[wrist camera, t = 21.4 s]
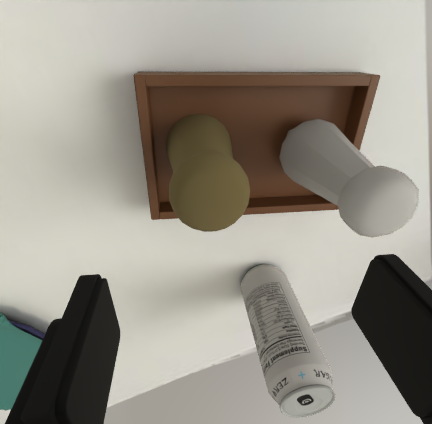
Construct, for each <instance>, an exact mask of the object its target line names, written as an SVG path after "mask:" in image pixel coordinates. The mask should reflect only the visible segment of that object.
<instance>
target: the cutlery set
mask: <svg viewBox="0 0 432 424" xmlns="http://www.w3.org/2000/svg"><path fill="white" fill-rule="evenodd" d="M44 336H45V334H44V333H42V332H40V331H38V330H36V329H34V328H32V327H30V326H28V325H24V324H21V323H17V322H13V321H9V320H7V319H6V317H5V316H4V315H3V314H2V313H0V410H1V409H3V410H5V411H6V410H9V409H12V407H13V405H14V402H15V400H16V398H17V396H18V394H19V391H20V389H21V387H22V385H23V383H24V380H25V378H26V376H27V374H28V371H29V369H30V367H31V365H32V363H33V360H34V358H35V356H36V354H37V352H38V349H39V347H40V345H41V343H42V340H43V338H44Z"/></svg>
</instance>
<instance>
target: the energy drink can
mask: <svg viewBox="0 0 432 424" xmlns="http://www.w3.org/2000/svg"><path fill="white" fill-rule="evenodd" d="M241 291H242V295H243V299H244V303H245V306H246V310H247V314H248V318H249V321H250V325H251V329H252V333H253V336H254V340H255V344H256V347H257V351H258V355H259V358H260V362H261V366H262V369H263V373H264V377H265V381H266V385H267V388H268V392H269V394H270V395H271V396H272V398H273V399H274V400H275V401H276V402H277V403H278V404H279V405H280V410H281V412H282V413H283V414H284V415H286V416H288V417H306V416H310V415H314V414H316V413H319V412H321V411H323V410H324V409H326V408H327V407H329V406H330V405H331V404H332V403H333V401H334V398H335V394H334V392H333V390H332V371H331V369H330V367H329V365H328V363H327V361H326V358H325V356H324V354H323V352H322V350H321V348H320V346H319V344H318V342H317V340H316V338H315V336H314V333H313V331H312V329H311V327H310V325H309V323H308V321H307V319H306V317H305V315H304V313H303V310H302V308H301V306H300V304H299V302H298V300H297V298H296V296H295V294H294V292H293V290H292V288H291V285H290V283H289V281H288V279H287V277H286V275H285V273H284V272H283V271H282V270H281V269H279V268H277V267H274V266H272V265H268V264H263V265H258V266H255V267H253V268H252V269H250V270H249V271H248V272H247V273H246V274H245V276H244V278H243V280H242V282H241Z"/></svg>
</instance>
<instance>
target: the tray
mask: <svg viewBox="0 0 432 424" xmlns="http://www.w3.org/2000/svg"><path fill="white" fill-rule="evenodd" d="M379 79H380V75H374V74H367V73H343V72H137V73H136V74H134V83H135V91H136V99H137V107H138V115H139V123H140V131H141V139H142V147H143V155H144V163H145V171H146V179H147V187H148V195H149V203H150V211H151V219H152V220H155V219H175V218H178V217H177V216H176V214H175V213H174V211H173V208H172V206H171V203H170V201H169V183H170V181H171V178H172V175H173V170H172V167H171V164H170V161H169V158H168V155H167V151H166V141H167V138H168V135H169V132H170V130H171V129H172V127H173V126H174V125H175V123H177V122H178V121H179V120H181V119H182V118H184V117H186V116H190V115H193V114H206V115H209V116H211V117H214V118H216V119H217V120H218V121H220V122H221V123H222V124H223V125H224V126H225V128H226V130H227V131H228V133H229V136H230V140H231V145H232V153H233V159H234V160H235V161H236V162H238V163H239V164H240V166H241V167H242V169H243V170H244V172H245V174H246V175H247V177H248V181H249V186H250V197H249V204H248V206H247V208H246V210H245V212H244V214H243V215H247V214H266V213H284V212H302V211H320V210H335V209H336V210H337V209H339V208H338V206H337V205H335V204H333V203H332V202H330V201H328V200H326V199H325V198H323V197H321V196H319V195H317V194H316V193H314V192H312V191H310V190H309V189H307V188H305V187H303V186H301V185H300V184H298V183H296V182H294V181H293V180H292V179H291V178H290V177H289V176H288V175H287V174H286V173H285V172H284V170H283V167H282V164H281V161H280V158H279V157H280V152H281V147H282V143H283V142H284V140H285V138H286V136H287V133H288V131H289V130H291V129H294V128H295V127H297V126H298V125H300V124H301V123H303V122H306V121H311V120H316V119H320V120H324V121H327V122H330V123H333V124H335V125H336V127H337V128H338V129H339V130H340V131H341V132H342V133H343V134H344V135H345V136H346V138H347V139H348V140H349V141H350V142H351V143H352V144H353V145H354V146H355V147H356V148H357V149H358V150H360V146H361V143H362V139H363V136H364V132H365V128H366V125H367V121H368V118H369V114H370V111H371V107H372V104H373V100H374V97H375V93H376V89H377V86H378V82H379Z"/></svg>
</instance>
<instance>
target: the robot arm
mask: <svg viewBox="0 0 432 424" xmlns="http://www.w3.org/2000/svg"><path fill="white" fill-rule="evenodd" d="M352 316H353V318H354V320H355V321H356V323H357V324H358V326H359V328H360V329H361V330H362V332H363V334H364V335H365V337H366V339H367V340H368V342H369V343H370V345H371V347H372V348H373V350H374V352H375V353H376V355H377V356H378V358H379V359H380V361H381V362H382V364H383V366H384V367H385V369H386V371H387V372H388V374H389V375H390V377H391V379H392V380H393V382H394V383H395V385H396V386H397V388H398V390H399V391H400V393H401V395H402V396H403V398H404V399H405V401H406V402H407V404H408V406H409V407H410V409H411V410H412V412H413V413H414V414H415V415H416V416H418V417H420V418H421V420H422V422H423V423H424V424H432V290H431V289H430V288H429V287H428V286H427V285H426V284H425V283H424V282H423V281H422V280H421V279H420V278H419V277H418V276H417V275H416V274H415V273H414V272H413V271H412V270H411V269H410V268H409V267H408V266H407V265H406V264H405V263H404V262H403V261H402V260H401V259H400V258H399V257H398V256H396V255H394V254H389V255H377V256H376V257H375V258H374V260H372V261H371V262H370V264H369V267H368V269H367V272H366V274H365V277H364V279H363V282H362V284H361V287H360V289H359V292H358V294H357V297H356V299H355V302H354V304H353V306H352ZM119 341H120V328H119V324H118V320H117V316H116V312H115V309H114V305H113V301H112V297H111V294H110V290H109V286H108V282H107V279H106V278H103V279H102V278H101V276H100V275H99V274H97V275H82V276H80V277H79V279H78V281H77V283H76V286H75V288H74V291H73V293H72V295H71V298H70V300H69V302H68V305H67V307H66V310H65V312H64V314H63V317H62V319H55V320H53V321H52V322H51V324H50V326H49V327H48V329H47V332H46V334H45V336H44V338H43V340H42V343H41V345H40V347H39V349H38V352H37V354H36V356H35V358H34V360H33V363H32V365H31V367H30V369H29V371H28V374H27V376H26V378H25V380H24V383H23V385H22V387H21V389H20V391H19V394H18V396H17V398H16V400H15V402H14V405H13V407H12V409H11V411H10V414H9V416H8V418H7V420H6V422H5V424H103V423H104V418H105V413H106V408H107V402H108V397H109V392H110V387H111V382H112V377H113V372H114V367H115V361H116V356H117V351H118V346H119Z"/></svg>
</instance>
